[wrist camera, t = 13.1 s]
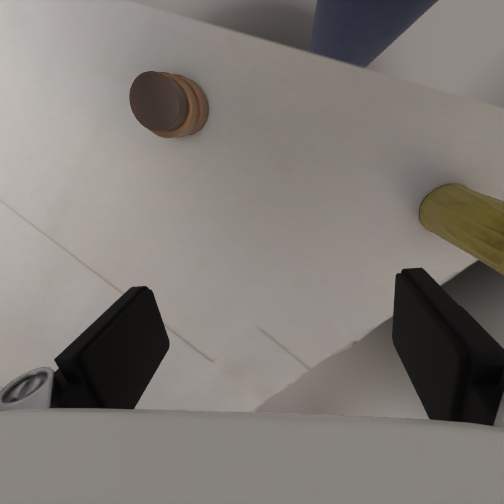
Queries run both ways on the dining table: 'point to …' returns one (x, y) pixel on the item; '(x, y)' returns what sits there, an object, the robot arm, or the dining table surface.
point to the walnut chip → (158, 102)
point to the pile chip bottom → (202, 104)
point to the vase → (467, 222)
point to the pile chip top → (192, 112)
